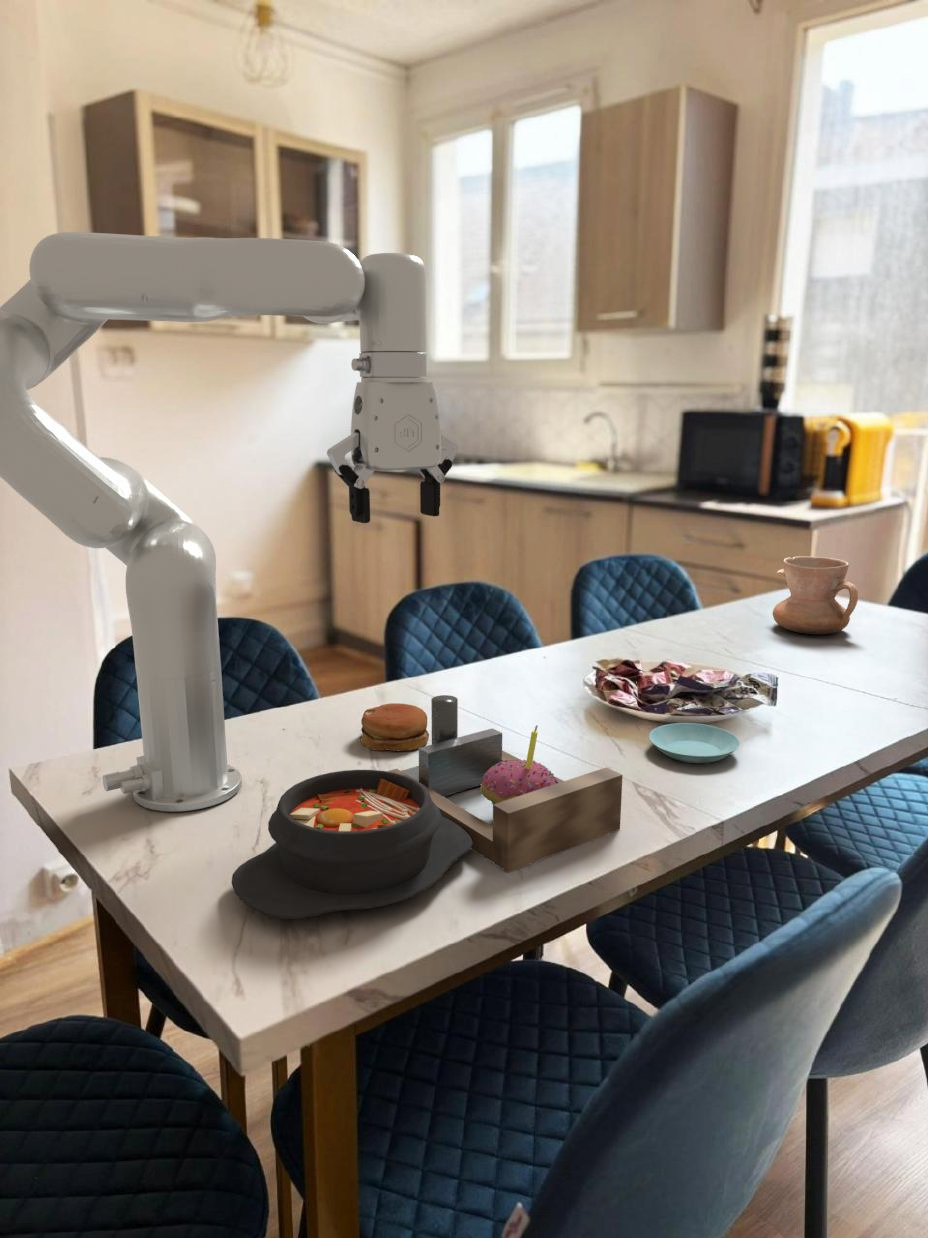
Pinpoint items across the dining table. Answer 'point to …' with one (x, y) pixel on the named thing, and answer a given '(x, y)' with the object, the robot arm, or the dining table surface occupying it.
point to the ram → (454, 752)
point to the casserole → (350, 846)
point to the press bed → (541, 818)
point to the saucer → (694, 742)
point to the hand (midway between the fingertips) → (396, 518)
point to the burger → (394, 727)
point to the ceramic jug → (815, 595)
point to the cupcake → (516, 777)
